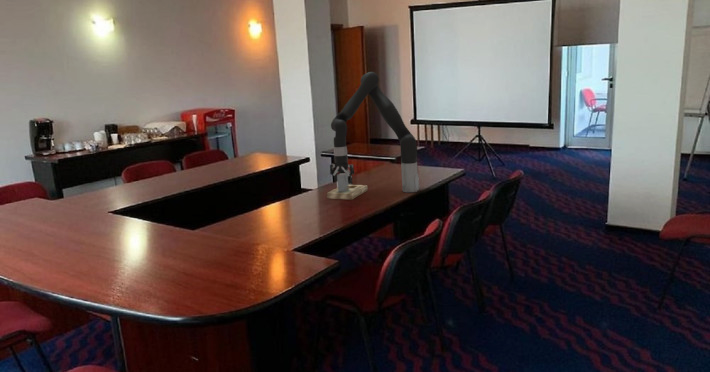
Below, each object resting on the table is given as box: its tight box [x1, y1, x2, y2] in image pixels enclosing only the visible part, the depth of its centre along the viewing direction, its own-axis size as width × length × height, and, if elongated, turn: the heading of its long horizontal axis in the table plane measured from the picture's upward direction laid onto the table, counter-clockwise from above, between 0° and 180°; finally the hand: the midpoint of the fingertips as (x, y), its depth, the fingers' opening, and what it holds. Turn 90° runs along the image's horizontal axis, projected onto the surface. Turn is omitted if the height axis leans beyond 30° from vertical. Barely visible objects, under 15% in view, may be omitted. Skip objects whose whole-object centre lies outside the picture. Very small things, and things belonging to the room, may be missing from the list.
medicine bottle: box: [336, 170, 354, 188], centre depth 350 cm, size 7×7×12 cm
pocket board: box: [326, 184, 369, 200], centre depth 332 cm, size 16×22×4 cm
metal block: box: [337, 173, 349, 192], centre depth 326 cm, size 5×5×10 cm
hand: (342, 181), depth 326 cm, fingers open, 8 cm apart
